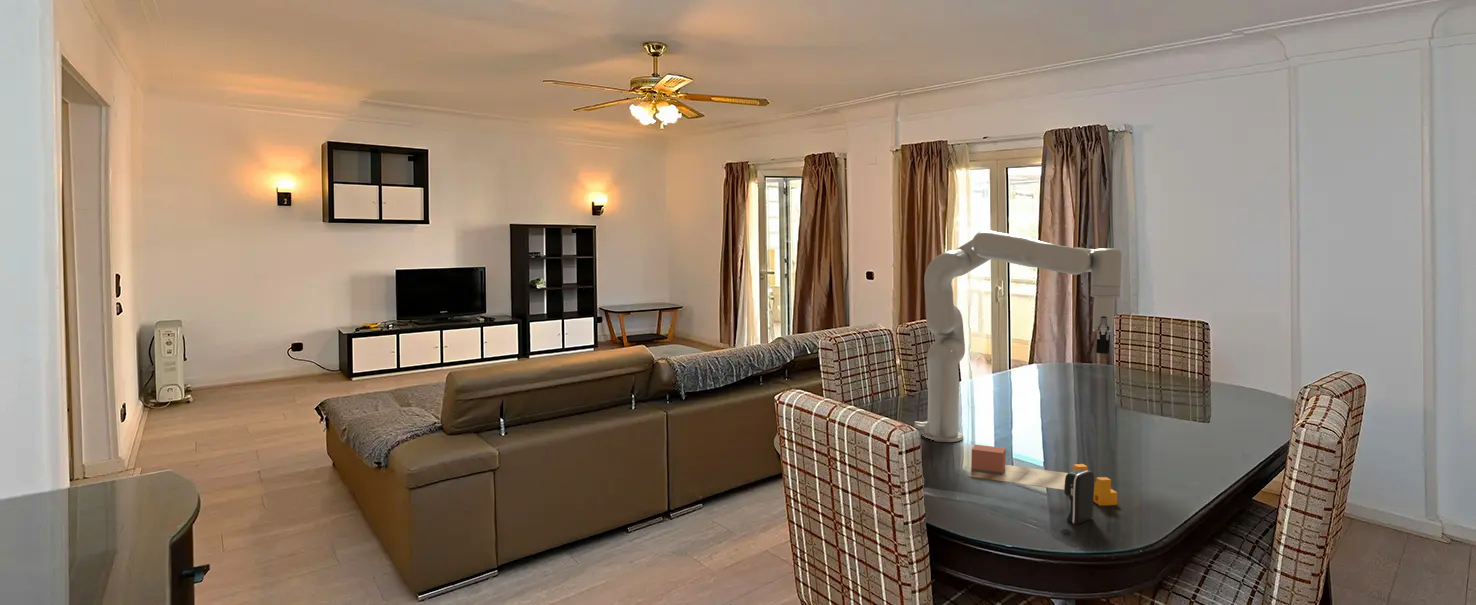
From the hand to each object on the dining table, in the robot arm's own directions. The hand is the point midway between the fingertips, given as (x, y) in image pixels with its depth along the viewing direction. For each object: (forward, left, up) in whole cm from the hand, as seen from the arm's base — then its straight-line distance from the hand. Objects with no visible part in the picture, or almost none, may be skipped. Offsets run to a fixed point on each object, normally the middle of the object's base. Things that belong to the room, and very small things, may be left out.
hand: (1102, 350), depth 210 cm
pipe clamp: (0, -36, -32) cm, 48 cm away
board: (-18, -32, -31) cm, 48 cm away
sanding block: (-26, -32, -30) cm, 51 cm away
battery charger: (-3, -54, -31) cm, 63 cm away
